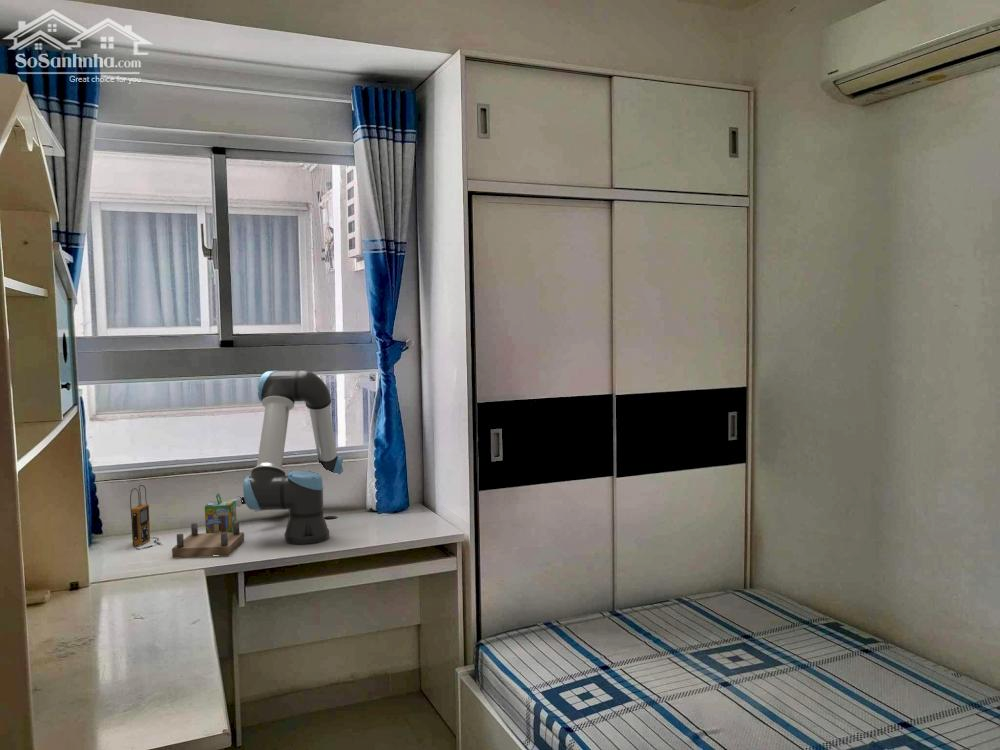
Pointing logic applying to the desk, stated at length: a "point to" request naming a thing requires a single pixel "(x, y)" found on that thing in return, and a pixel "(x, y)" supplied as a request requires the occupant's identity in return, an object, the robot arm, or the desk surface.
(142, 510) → the multimeter
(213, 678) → the desk surface
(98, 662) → the desk surface
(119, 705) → the desk surface
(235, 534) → the peg stand
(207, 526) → the chalk box
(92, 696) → the desk surface
